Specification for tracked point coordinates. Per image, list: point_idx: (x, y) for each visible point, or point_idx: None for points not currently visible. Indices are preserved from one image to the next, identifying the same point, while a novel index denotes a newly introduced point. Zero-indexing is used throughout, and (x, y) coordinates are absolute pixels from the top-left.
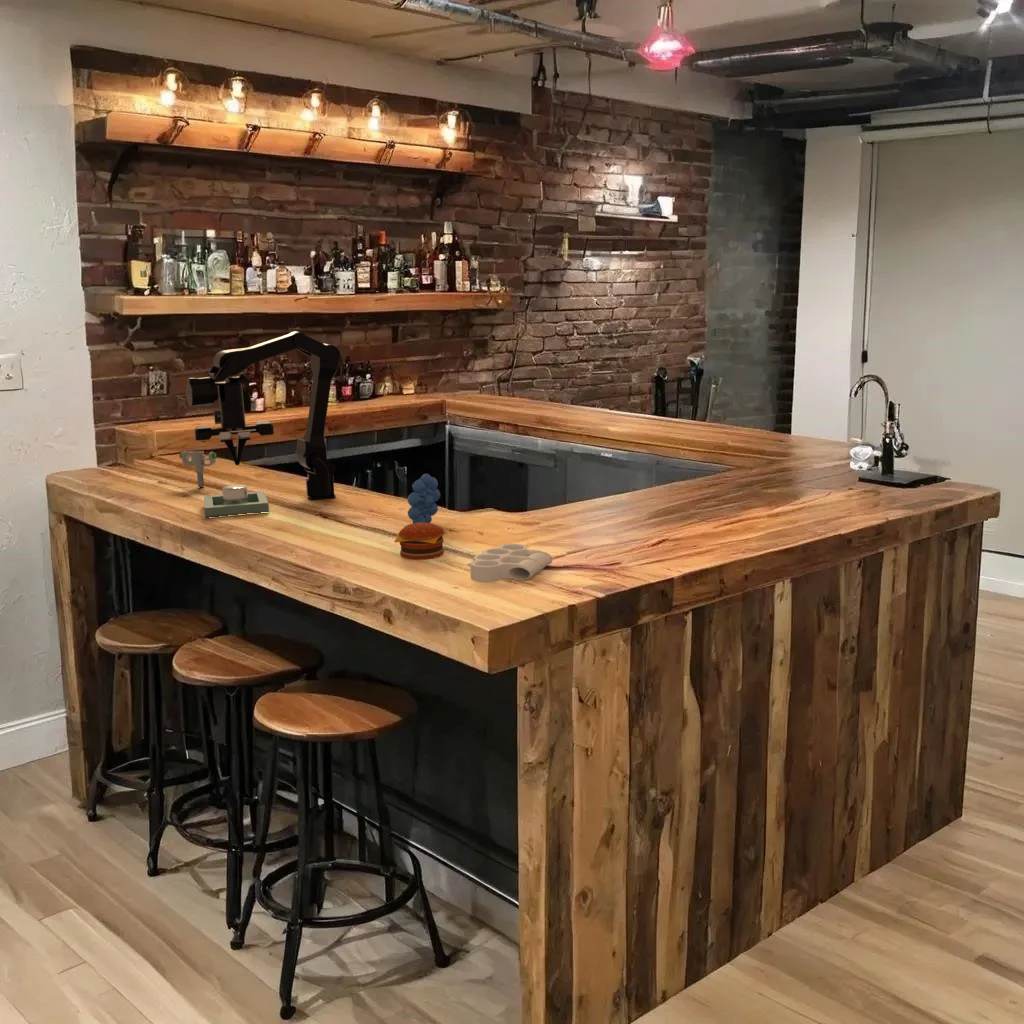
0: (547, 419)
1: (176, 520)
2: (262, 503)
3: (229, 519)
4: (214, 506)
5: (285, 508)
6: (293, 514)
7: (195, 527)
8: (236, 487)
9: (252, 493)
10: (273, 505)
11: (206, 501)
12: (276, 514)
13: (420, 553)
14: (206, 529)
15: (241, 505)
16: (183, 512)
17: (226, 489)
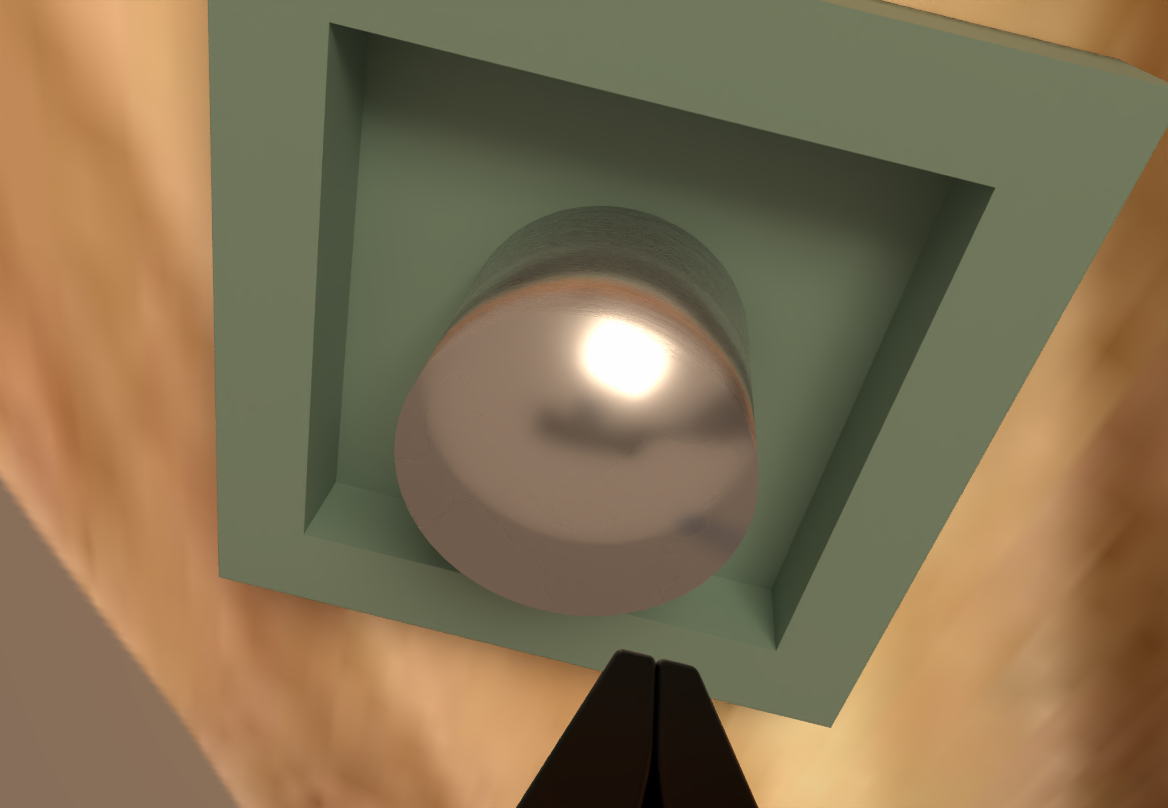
0: None
1: (10, 414)
2: (774, 713)
3: (453, 636)
4: (314, 569)
5: (1053, 572)
6: (964, 778)
7: (186, 695)
8: (597, 495)
9: (942, 152)
10: (1045, 376)
11: (240, 286)
12: (852, 707)
13: None
14: (260, 773)
15: (570, 661)
16: (28, 89)
17: (440, 530)
